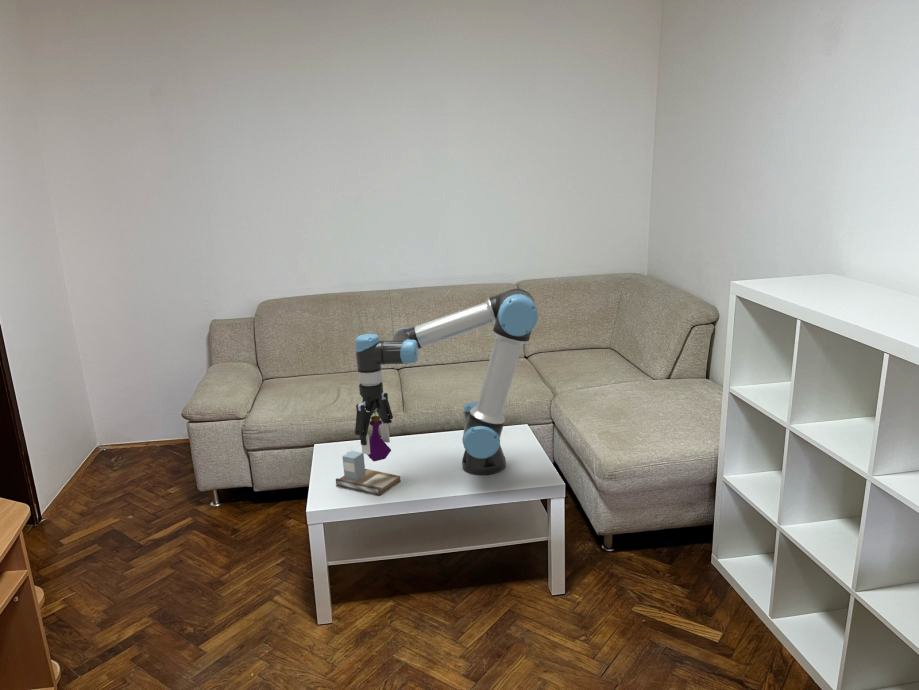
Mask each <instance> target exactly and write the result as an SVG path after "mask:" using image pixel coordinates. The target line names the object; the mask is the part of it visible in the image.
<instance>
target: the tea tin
mask: <svg viewBox="0 0 919 690" xmlns="http://www.w3.org/2000/svg"><path fill="white" fill-rule="evenodd" d="M364 455H365V454H363V453H362V451H355V450H351V451H349V452H347V453H345V454H343V455H342V458H341V459H342V466H343V474H344V475H343V476H345V478H346V479H351V480H355V481H357V480H358V479H360V478H362V477H363V476H365V475H366V474H365V469H366V465H365V456H364Z"/></svg>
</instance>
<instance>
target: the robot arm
mask: <svg viewBox="0 0 919 690" xmlns="http://www.w3.org/2000/svg"><path fill="white" fill-rule="evenodd" d="M538 318H539V313H538V307H537V305H536V303H535V300H534V298H533V296H532V295H531V293H529V292H528V291H526V290H524V289H522V288H512V289H508V290H506V291H503V292H501V293H498V294H496V295H492V296H490V297H487V299H486V301H484V302H482V303H479V304H477V305H474V306H470V307H468V308H465V309H461V310H459V311H455V312H453V313H450V314H447V315H444V316H441V317H439V318H436V319H433V320H430V321H427V322H424V323H420V324H418V325H415V326H413V327H409V328H408V327H403V328H400V329H398V330H397V332H395V334H394V335H393V337H392V340H380V338H379V335H377V334H375V333H365V334H361V335H358V336H356V338H355V341H354V342H355V351H354V352H355V354H356V355H355V356H356V366H357V375H358V377H357V378H358V383H359V385H358V389H359V390H358V391H359V395H360V396H361V398H362V402H361V403H357V404H355V409H356V417H355V430H354V435H355V436H359V437H360V438H359V440H360V441H359V442H360V445H361V453H363V454H364V455H367V454H370V443H369V439H370V435H369V434H368V430H369V427H370V421H371V417H372V416H374V415H373V414H374V413H373V412H374V410H375V409H376V408H377V411H376V414H377V416H379V417H380V420H381V421H382V424H381V425H380V430H381V431H380V432H381V435H380V436H381V438H382V440H383V441H384V442H385V443H386V444H388V443H390V442H391V440H390V439H391V438H390V437H391V436H390V424H391V423H392V422H393V421H392V420H393V418H394V416H393V413H392V410H391V406H390V402H389V397H388V395H389V393H387V392H384V385H383V384H384V383H383V371H382V365H384V366H385V365H408V364H416V363H418V360H419V350H420V349H423V348H425V347H428V346H431V345H435V344H437V343H439V342H440V343H441V342H443V341H446V340H449V339H453V338H455V337H458V336H461V335H464V334H467V333H470V332H473V331H476V330H479V329H482V328H485V327H488V326H491V325H494V326H493V329H492V332H493V333H494V334H493V335H495V340H494V343H493V347H492V350H491V354H490V358H489V361H488V364H487V368H486V370H485V371H486V372H485V375H484V378H483V382H482V385H481V389H480V392H479V396H478V400H476V401H471V402H468V403H465V405H464V407H463V415H464V418H463V419H464V424H463V426H464V427H463V435H462V439H461V440H462V444H463V448H464V453H463V456H462V459H461V463H462V466H461V467H462V469H463V470H464V471H465V472H466V473H469V474H473V475H480V476H481V475H483V476H484V475H492V474H497V473H499V472H501V471H503V470H504V469H505V468H506V466H507V461H506V457H505V454H504V452H503V449H502V447H501V439H500V438H501V435H502V432H503V429H504V425H505V423H506V419H505V416H504V415H503V412H504V408H505V405H506V402H507V398H508V395H509V392H510V388H511V385H512V381H513V377H514V376H515V375H514V374H515V372H516V368H517V366H518V361H519V358H520V355H521V351H522V348H523V345H525V344H527V343H529V341H530V338H531V335H532V333H533V332H532V331H533V330H534V328H535V327H536V325H537V323H538Z"/></svg>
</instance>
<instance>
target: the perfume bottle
mask: <svg viewBox="0 0 919 690" xmlns="http://www.w3.org/2000/svg"><path fill="white" fill-rule="evenodd" d="M373 414H374V415H371V419H370V423H369V426H371V427H372V433H371V435H370V436H369V443H370V454H366V455H367V456H368V458H369V459H370V460H371V461H372V462H378V461H382V460H385V459H387V457H388V456H389V454H390V453H391V452H392V449H391V447H390V446H388V445H387V444H388V443H387V442H384V441H383V440H382V436H381V435H380V432H379V428H380V427H381V424H382V423H383V422H382V420H381V419H380V417H379V415H376V414H377V408H376V409H375V410H374V412H373Z"/></svg>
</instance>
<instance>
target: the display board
mask: <svg viewBox="0 0 919 690" xmlns="http://www.w3.org/2000/svg"><path fill="white" fill-rule="evenodd" d="M365 474H366V475H365V476H363V477H362V478H360V479H358V480H357V481H355V480H351V479H346V478H345V476H344V475H343V476H341V477H339V478H338V477H337V478H335V486H336V487H338V488H342V489H346V490H347V489H348V490H350V491H356V492H359V493H365V494H368V495H369V494H370V495H373V496H378V497H381V496H382V495H383V494H385V493H386V492H388V491H389V490H390V489H392V488H394V487H395V486H396V485H398V484H399V483H400V482H401V475H397V474H392V473H388V472H383V471H378V470H372V469H369V468H365Z"/></svg>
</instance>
